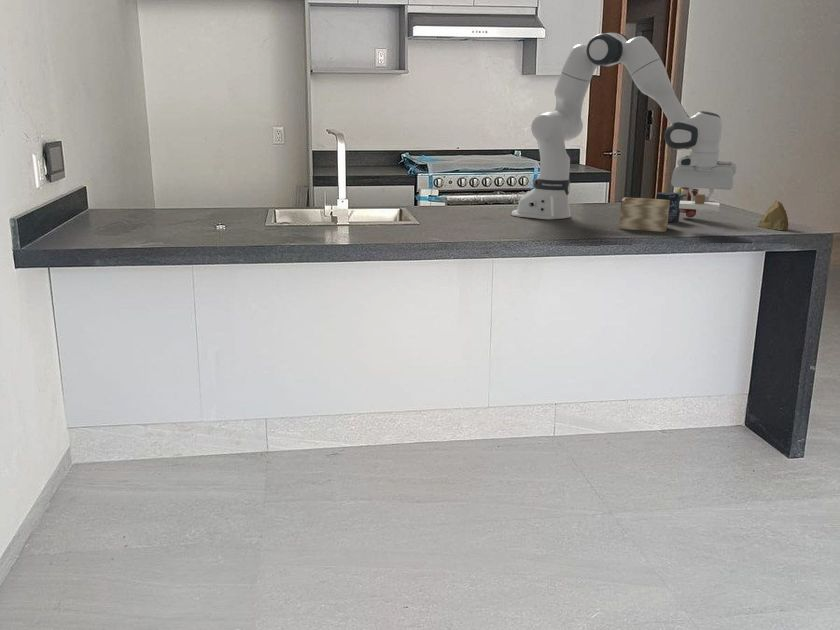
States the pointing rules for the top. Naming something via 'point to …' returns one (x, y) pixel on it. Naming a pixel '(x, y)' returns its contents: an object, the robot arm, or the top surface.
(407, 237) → the top surface
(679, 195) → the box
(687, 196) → the snake in a can
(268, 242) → the top surface
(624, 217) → the birch box
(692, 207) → the lid
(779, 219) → the rock
